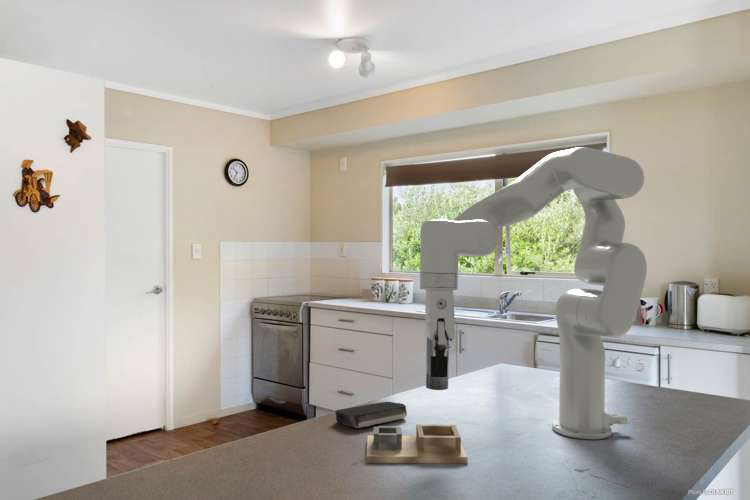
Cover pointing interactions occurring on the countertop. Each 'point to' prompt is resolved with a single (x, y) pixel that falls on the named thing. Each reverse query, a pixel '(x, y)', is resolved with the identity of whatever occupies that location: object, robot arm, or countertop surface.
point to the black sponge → (371, 414)
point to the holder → (416, 445)
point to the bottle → (431, 382)
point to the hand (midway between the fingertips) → (437, 373)
